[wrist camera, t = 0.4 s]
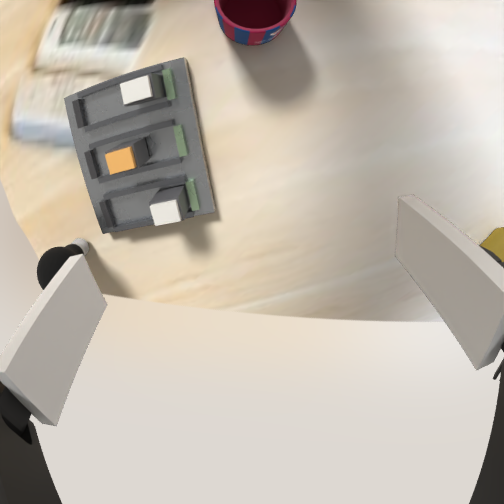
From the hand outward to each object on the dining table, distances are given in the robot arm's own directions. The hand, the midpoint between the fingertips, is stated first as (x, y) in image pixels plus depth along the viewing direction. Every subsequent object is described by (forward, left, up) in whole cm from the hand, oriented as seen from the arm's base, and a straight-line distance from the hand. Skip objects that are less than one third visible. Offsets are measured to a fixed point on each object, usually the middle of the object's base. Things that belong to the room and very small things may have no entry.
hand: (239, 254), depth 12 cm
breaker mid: (-2, -11, -20) cm, 23 cm away
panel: (-2, -11, -22) cm, 25 cm away
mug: (-16, +3, -23) cm, 28 cm away
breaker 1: (-8, -8, -21) cm, 23 cm away
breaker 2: (+4, -8, -20) cm, 22 cm away
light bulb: (+7, -22, -22) cm, 32 cm away
